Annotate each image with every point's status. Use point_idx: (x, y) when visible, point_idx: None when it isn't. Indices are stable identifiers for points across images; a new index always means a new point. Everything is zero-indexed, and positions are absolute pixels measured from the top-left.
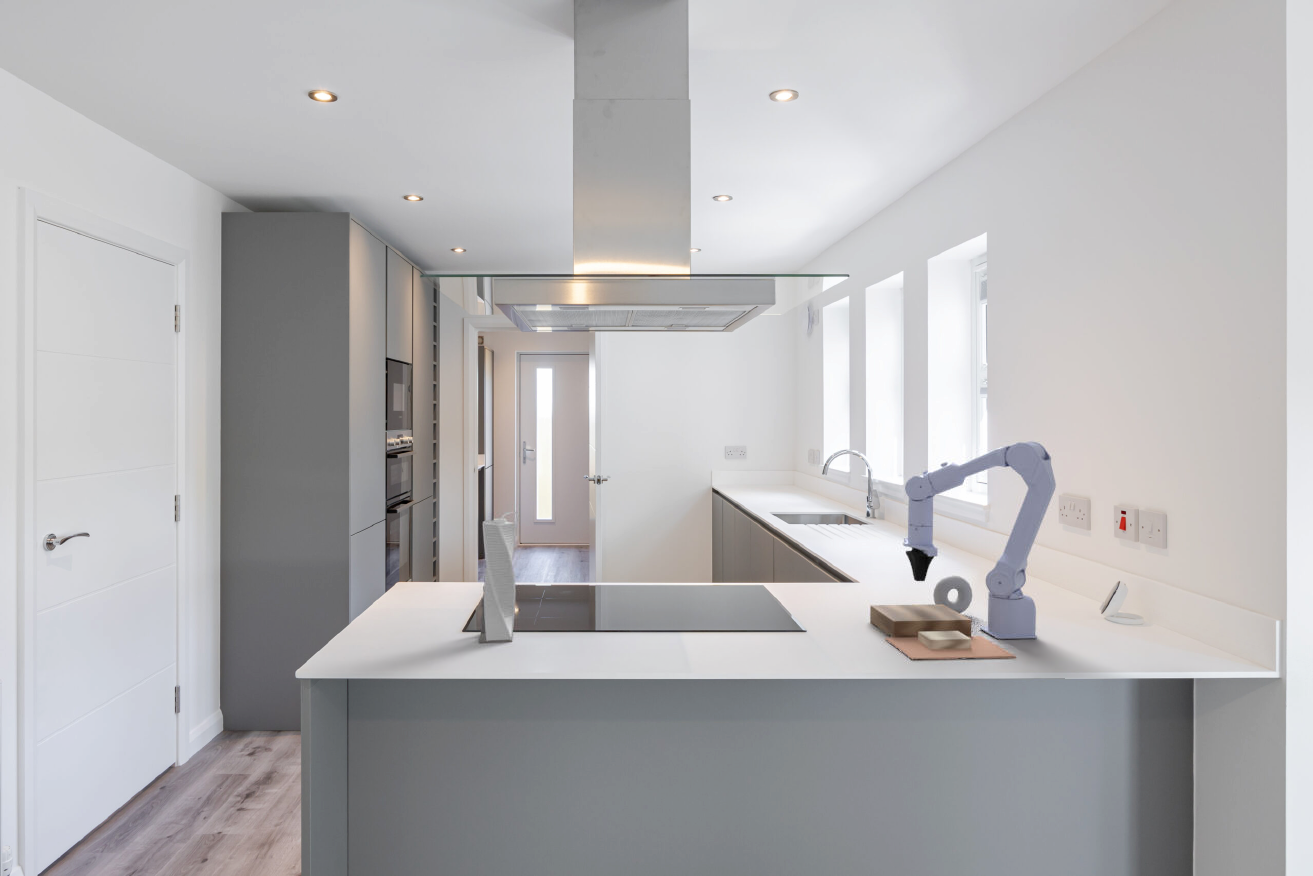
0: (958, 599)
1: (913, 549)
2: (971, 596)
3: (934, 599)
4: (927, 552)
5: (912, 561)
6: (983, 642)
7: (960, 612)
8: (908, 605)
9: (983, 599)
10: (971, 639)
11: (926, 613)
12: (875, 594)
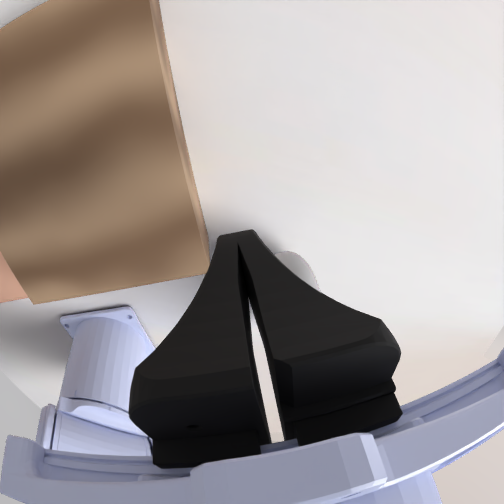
0: None
1: (364, 412)
2: None
3: (286, 260)
4: (79, 469)
5: (240, 313)
6: (11, 284)
7: None
8: (161, 135)
9: (400, 343)
10: None
11: (44, 192)
12: (499, 132)
